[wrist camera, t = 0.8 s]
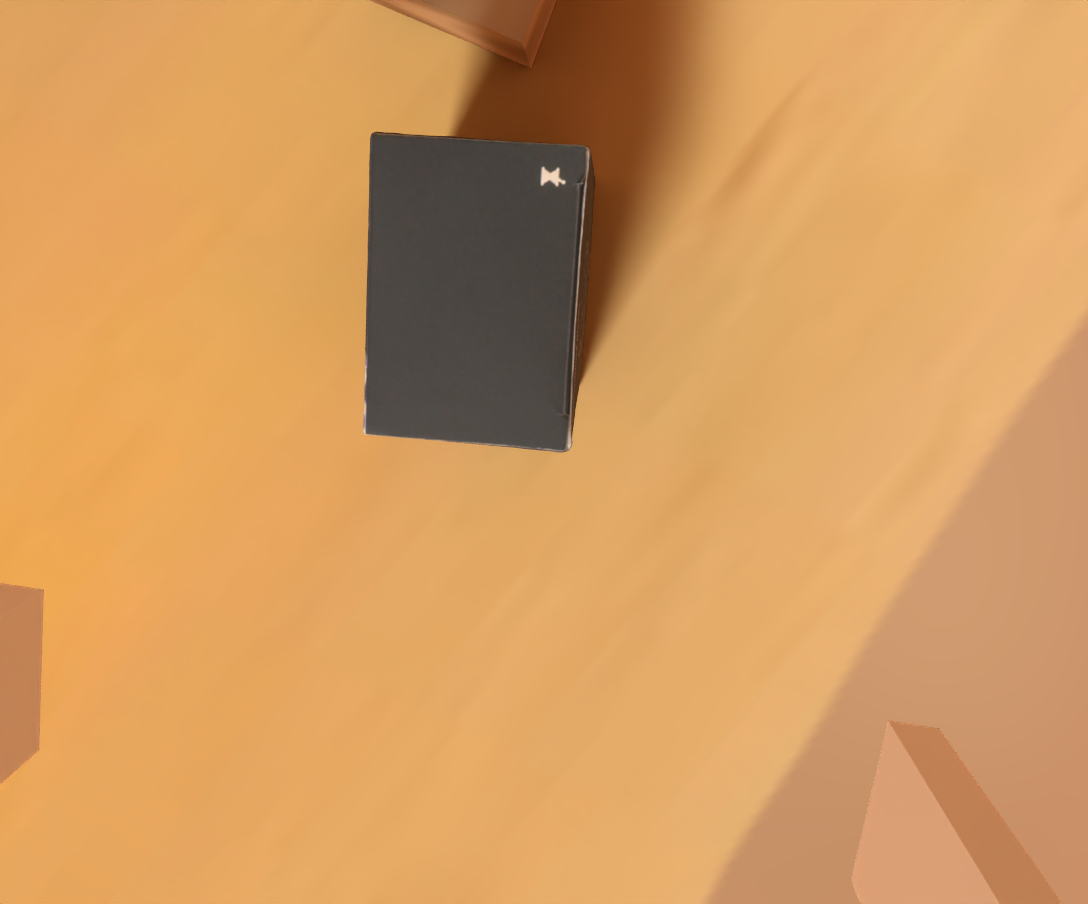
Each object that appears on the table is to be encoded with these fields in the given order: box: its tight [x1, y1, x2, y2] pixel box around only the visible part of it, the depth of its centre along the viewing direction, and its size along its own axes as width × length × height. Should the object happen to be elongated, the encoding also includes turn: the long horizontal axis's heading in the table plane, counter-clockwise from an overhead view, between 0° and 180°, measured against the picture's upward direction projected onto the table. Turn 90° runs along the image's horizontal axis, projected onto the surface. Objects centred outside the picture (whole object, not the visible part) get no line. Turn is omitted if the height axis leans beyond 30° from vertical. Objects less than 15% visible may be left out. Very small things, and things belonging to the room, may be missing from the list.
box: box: [363, 132, 595, 452], centre depth 29 cm, size 8×6×11 cm
